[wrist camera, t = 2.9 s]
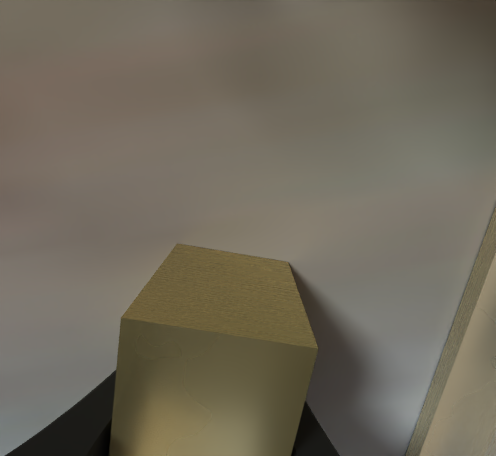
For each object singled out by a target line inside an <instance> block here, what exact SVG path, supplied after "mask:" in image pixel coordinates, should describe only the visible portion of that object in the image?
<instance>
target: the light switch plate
mask: <svg viewBox="0 0 496 456" xmlns="http://www.w3.org/2000/svg"><path fill="white" fill-rule="evenodd" d="M405 456H496V207H495V210H494V213H493V215H492V218H491V221H490V224H489V226H488V229H487V232H486V235H485V237H484V240H483V243H482V246H481V248H480V251H479V254H478V257H477V259H476V262H475V265H474V268H473V271H472V273H471V276H470V279H469V282H468V284H467V287H466V290H465V293H464V295H463V298H462V301H461V304H460V306H459V309H458V312H457V315H456V317H455V320H454V323H453V326H452V328H451V331H450V334H449V337H448V339H447V342H446V345H445V348H444V350H443V353H442V356H441V359H440V361H439V364H438V367H437V370H436V372H435V375H434V378H433V381H432V383H431V386H430V389H429V392H428V394H427V397H426V400H425V403H424V405H423V408H422V411H421V414H420V417H419V419H418V422H417V425H416V428H415V430H414V433H413V436H412V439H411V441H410V444H409V447H408V450H407V452H406V455H405Z"/></svg>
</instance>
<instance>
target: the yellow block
mask: <svg viewBox="0 0 496 456" xmlns="http://www.w3.org/2000/svg"><path fill="white" fill-rule="evenodd" d="M317 352H318V346H317V343H316V340H315V337H314V335H313V332H312V329H311V326H310V323H309V320H308V317H307V315H306V312H305V309H304V306H303V303H302V300H301V297H300V295H299V292H298V289H297V286H296V283H295V280H294V277H293V275H292V272H291V269H290V266H289V263H288V262H284V261H278V260H272V259H266V258H260V257H254V256H248V255H242V254H236V253H230V252H224V251H218V250H212V249H206V248H200V247H194V246H188V245H182V244H177V245H176V246H175V247H174V249H173V250H172V251H171V253H170V254H169V255H168V256H167V258H166V259H165V260H164V262H163V263H162V264H161V266H160V267H159V268H158V270H157V271H156V272H155V274H154V275H153V276H152V278H151V279H150V280H149V282H148V283H147V284H146V286H145V287H144V288H143V289H142V291H141V292H140V293H139V295H138V296H137V297H136V299H135V300H134V301H133V303H132V304H131V305H130V307H129V308H128V309H127V311H126V312H125V313H124V315H123V316H122V317H121V325H120V336H119V347H118V358H117V370H116V381H115V392H114V403H113V415H112V426H111V437H110V448H109V456H291V453H292V449H293V445H294V441H295V438H296V434H297V430H298V426H299V422H300V418H301V414H302V410H303V406H304V403H305V399H306V395H307V391H308V387H309V383H310V379H311V375H312V371H313V368H314V364H315V360H316V356H317Z"/></svg>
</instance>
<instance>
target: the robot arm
mask: <svg viewBox="0 0 496 456" xmlns="http://www.w3.org/2000/svg"><path fill="white" fill-rule="evenodd" d="M116 370H117V369H116ZM116 370H115V371H114V372H113V373H112V374H111V375H110V376H109V377H107V378H106V379H105V380H104V381H103V382H102V383H101V384H99V385H98V386H97V387H96V388H95V389H94V390H92V391H91V392H90V393H89V394H88V395H86V396H85V397H84V398H83V399H82V400H80V401H79V402H78V403H77V404H75V405H74V406H73V407H72V408H70V409H69V410H68V411H66V412H65V413H64V414H63V415H61V416H60V417H59V418H57V419H56V420H55V421H53V422H52V423H51V424H49V425H48V426H47V427H45V428H44V429H43V430H41V431H40V432H39V433H37V434H36V435H34V436H33V437H32V438H30V439H29V440H27V441H26V442H25V443H23V444H22V445H20V446H19V447H17V448H16V449H14V450H13V451H11V452H10V453H8V454H7V455H5V456H109V448H110V437H111V426H112V415H113V403H114V392H115V381H116ZM291 456H340V455H339V454H338V452H337V451H336V449H335V448H334V446H333V445H332V443H331V442H330V440H329V439H328V437H327V435H326V434H325V432H324V431H323V429H322V428H321V426H320V424H319V423H318V421H317V420H316V418H315V416H314V415H313V413H312V411H311V409H310V408H309V406H308V404H307V403H306V401H305V403H304V406H303V410H302V414H301V418H300V422H299V426H298V430H297V434H296V438H295V441H294V445H293V449H292V453H291Z"/></svg>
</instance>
